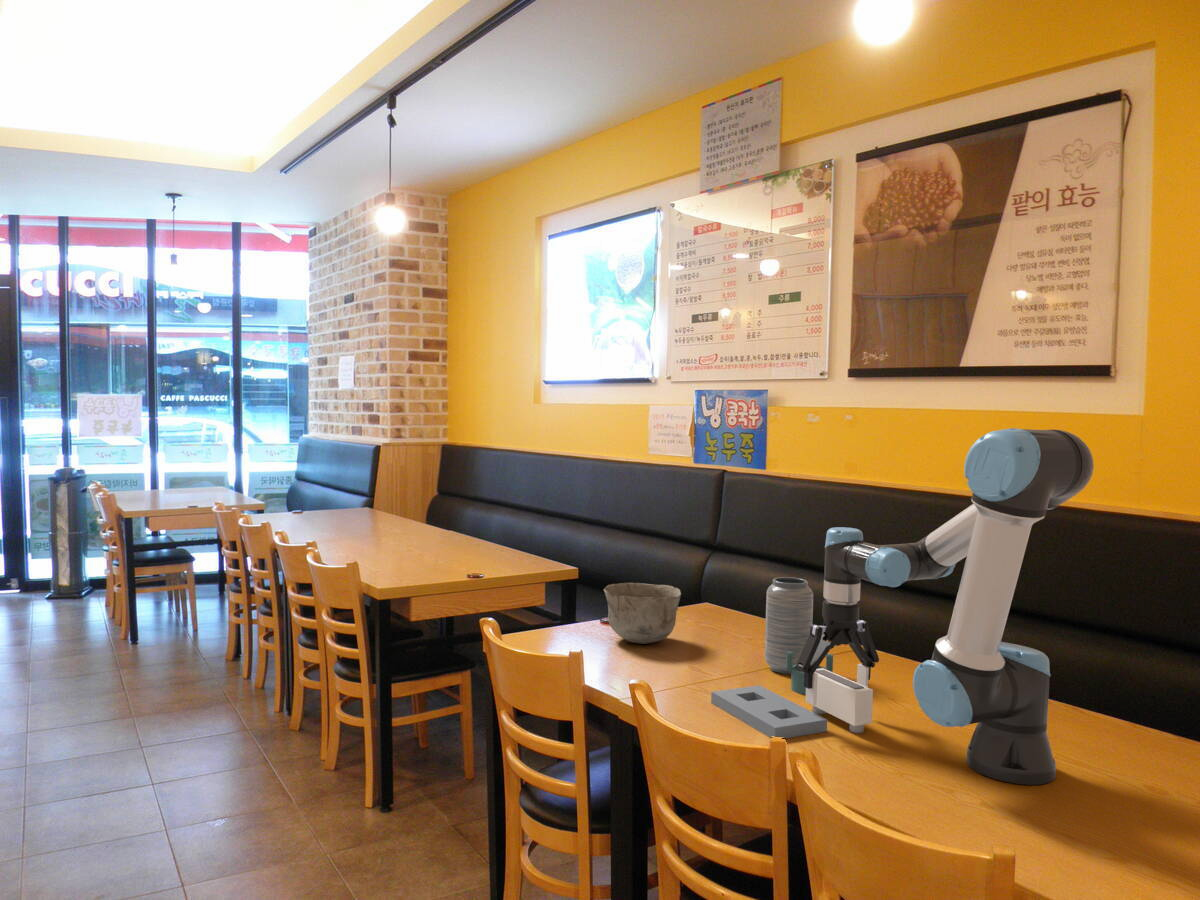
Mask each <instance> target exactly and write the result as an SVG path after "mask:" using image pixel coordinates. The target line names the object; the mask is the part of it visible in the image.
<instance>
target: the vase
mask: <svg viewBox="0 0 1200 900" xmlns="http://www.w3.org/2000/svg"><path fill="white" fill-rule="evenodd" d="M813 611H814V592H813V589H812V588H810V586H809V582H808V581H807V580H806V579H803V578H798V577H789V576H786V577H785V576H781V577H780V576H779V577H775V578H773V579H772V584H770V585H769V586H768V588H767V590H766V602H765V634H764V635H765V640H764V659H765V662H766V664H767V665H768V666H769V669H770V670H771V671H773V672H776V673H779V674H783V675H791V674H792V672H790V671H788V670H787V669H786V660H787V651H790V652H793V658H792V666H793V665H796V664H797V662H798V660H799V658H800V655H801V653H802V651H803V648H804V646H805V644H806V642H807V639H808V637H809V635H810V627H811V625H812V624H813V615H814V614H813V613H814V612H813Z"/></svg>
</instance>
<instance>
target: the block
mask: <svg viewBox="0 0 1200 900" xmlns="http://www.w3.org/2000/svg"><path fill="white" fill-rule="evenodd" d="M814 673H816V674H818V679H817V701H816V705H812V704H810V703H809V702H807V701H804V702H805V703H807V704H810V705H812V712H813V713H815V714H817V715H819V716H822V715H826V713H827V714H829V715H832V716H834V717H835V718H837V719H840V720H841V721H844V722H845V723H847V724H849V725H848V726H849V727H848V728H849V732H851V733H853V734H863V733H864V730H865V729H864V728H865V727H864V726H865V725H870V724H872V723H873V704H874V702H873V701H874V700H873V699H874V689H873V688H870V687H869V686H868V687H866V686H863V685H861V684H859V683H857V681H853V680H851V679H849V678H847V677H845V676H843V675H840V674H837V673H835V672H831V671H828V670H826V669H824V668H821V669H816V671H815V672H814Z"/></svg>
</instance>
